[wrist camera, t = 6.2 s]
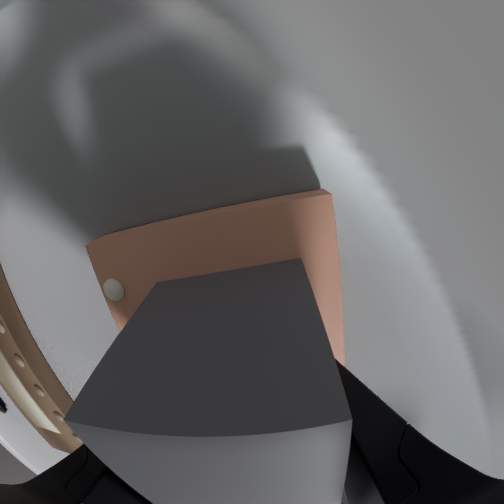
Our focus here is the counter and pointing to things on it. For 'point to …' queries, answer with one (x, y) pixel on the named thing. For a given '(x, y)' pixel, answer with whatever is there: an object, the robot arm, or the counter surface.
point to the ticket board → (32, 378)
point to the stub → (223, 356)
